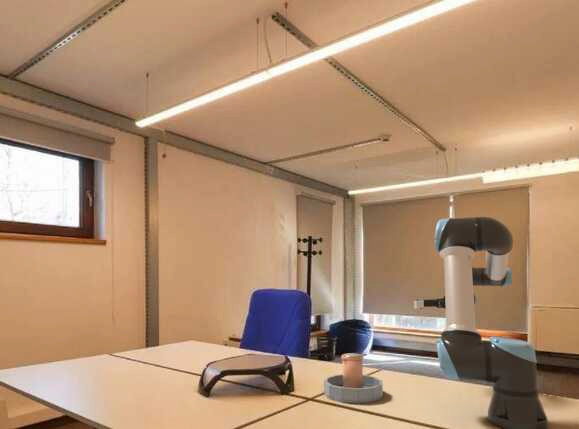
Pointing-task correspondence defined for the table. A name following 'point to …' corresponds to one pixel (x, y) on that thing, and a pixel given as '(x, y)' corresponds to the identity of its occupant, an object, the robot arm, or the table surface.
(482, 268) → the robot arm
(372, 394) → the slate bowl
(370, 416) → the table surface
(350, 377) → the terracotta jar
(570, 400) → the table surface
